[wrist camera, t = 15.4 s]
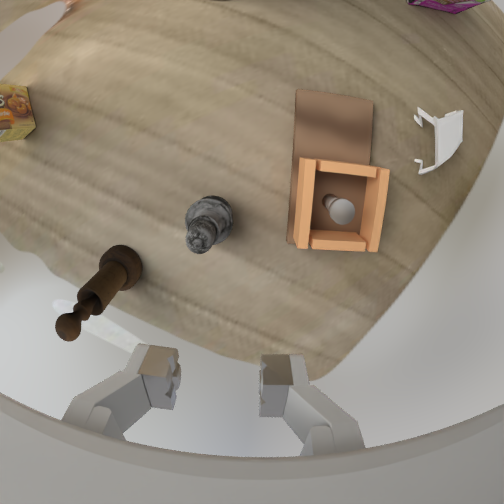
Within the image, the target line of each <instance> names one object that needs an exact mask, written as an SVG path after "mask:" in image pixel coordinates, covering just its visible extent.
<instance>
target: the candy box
mask: <svg viewBox="0 0 504 504" xmlns="http://www.w3.org/2000/svg"><path fill="white" fill-rule="evenodd" d="M34 128H36V125H35V121H34V117H33V114H32V110H31V105H30V101H29V96H28V92H27V87H25V86H16V85H7V84H0V142H5V141H13V140H22V139H24V138H25V137H26V136H27V135H28V134H29V133H30V132H31V131H32V130H33V129H34Z"/></svg>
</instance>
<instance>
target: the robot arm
mask: <svg viewBox="0 0 504 504" xmlns="http://www.w3.org/2000/svg"><path fill="white" fill-rule="evenodd" d="M178 358H179V355H178V350H177V349H176V348H169V347H161V346H155V345H146V344H140V343H139V344H138V345H137V346H136V347H135V349H134V351H133V353H132V355H131V357H130V359H129V362H128V363H127V365H126V368H125V370H124V371H119V372H117V373H116V374H114V375H112V376H110V377H109V378H107V379H105V380H104V381H102V382H100V383H98V384H97V385H95V386H93V387H91V388H90V389H88V390H86V391H85V392H83V393H81V394H79V395H77V396H75V397H74V398H73V400H72V402H71V403H70V405H69V407H68V409H67V411H66V413H65V414H64V416H63V418H62V420H58V419H56V418H53V417H51V416H48V415H46V414H44V413H41V412H39V411H37V410H34V409H32V408H30V407H28V406H26V405H24V404H22V403H20V402H18V401H15V400H14V399H12V398H10V397H8V396H6V395H4V394H2V393H0V504H504V404H503V405H500V406H498V407H496V408H493V409H491V410H489V411H487V412H485V413H483V414H480V415H478V416H475V417H473V418H471V419H468V420H466V421H463V422H460V423H458V424H455V425H452V426H449V427H447V428H444V429H441V430H438V431H435V432H431V433H428V434H425V435H421V436H418V437H414V438H411V439H407V440H403V441H399V442H395V443H390V444H386V445H381V446H376V447H371V448H365V445H364V442H363V438H362V435H361V432H360V429H359V425H358V422H357V421H356V420H355V419H354V418H353V417H351V416H350V415H349V414H348V413H347V412H345V411H344V410H343V409H342V408H340V407H339V406H338V405H337V404H336V403H334V402H333V401H332V400H331V399H330V398H328V397H327V396H326V395H325V394H324V393H322V392H321V391H320V390H319V389H318V388H317V387H316V386H314V385H310V384H309V379H308V374H307V369H306V364H305V360H304V355H303V354H289V355H288V354H261V361H260V366H261V370H260V373H259V395H260V398H259V416H260V417H283V419H284V420H285V422H286V423H287V424H288V425H289V427H290V428H291V429H292V430H293V431H294V433H295V434H296V435H297V436H298V438H299V439H300V440H301V441H302V442H303V443H304V447H303V449H302V451H301V454H300V456H296V457H232V456H217V455H206V454H196V453H189V452H181V451H175V450H168V449H162V448H157V447H152V446H147V445H142V444H137V443H133V442H129V441H126V440H125V438H124V436H123V433H124V432H125V431H126V430H127V429H128V428H129V427H131V426H132V425H133V424H134V423H135V422H136V421H138V420H139V419H140V418H141V417H142V416H143V415H144V414H146V412H148V411H149V410H150V409H151V407H154V408H161V409H169V410H173V408H174V405H175V401H176V392H175V391H176V390H177V389H178V388H179V385H180V380H181V368H180V365H179V364H178V362H177V361H178Z"/></svg>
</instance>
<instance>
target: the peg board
mask: <svg viewBox="0 0 504 504" xmlns="http://www.w3.org/2000/svg"><path fill="white" fill-rule="evenodd" d="M372 121H373V101H371V100H366V99H361V98H356V97H351V96H345V95H339V94H333V93H326V92H319V91H312V90H303V89H297V90H296V98H295V119H294V138H293V155H292V171H291V185H290V199H289V212H288V224H287V236H286V241H287V243H288V244H296V243H295V241H294V238H293V234H294V223H295V212H296V200H297V187H298V174H299V159H300V157H302V158H311V159H323V160H332V161H341V162H349V163H356V164H363V165H369V163H370V151H371V138H372ZM366 185H367V176H359V175H351V174H343V173H334V172H324V171H319V170H317V169H315V180H314V192H313V203H312V213H311V222H310V230H326V231H342V232H356V233H357V234H358V235H360V229H361V222H362V216H363V208H364V201H365V193H366ZM308 244H309V242H308ZM309 245H310V244H309Z"/></svg>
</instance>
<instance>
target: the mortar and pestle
mask: <svg viewBox="0 0 504 504" xmlns="http://www.w3.org/2000/svg"><path fill="white" fill-rule="evenodd" d="M141 272H142V264H141V261H140V258H139V256H138V255H137V254H136V252H135V251H134V250H132V249H131V248H129V247H127V246H124V245H116V246H113V247H111V248H110V249H109V250H108V251H107V252H105V253H104V254H103V256H102V257H101V259H100V262H99V271H98V272H97V273H96V274H95V275H94V276H93V277H92V278H91V279H90V280H89V281H88V282H87V283H86V284H85V285H84V286H83V287H82V288H81V289H80V290H79V292H78V294H77V299H78V303H77V304H75V305H74V307H73V311H74V312H73V313H65V314H62V315H61V316H59V317H58V319H57V321H56V325H55V328H56V332H57V334H58V335H59V337H60V338H61V339H63V340H65V341H73V340H75V339H76V338H77V337H78V336H79V335H80V332H81V321H82V320H83V321H86V320H88V319H89V317H90V315H95V316H97V315H100V314H101V313H102V312H103V311H104V310H105V308H106V306H107V305H108V304H109V303H110V301H111V300H112V299H113V297H114V296H115V295H116V293H117V292H118V291H124V290H128V289H130V288H131V287H133V286H134V284H135V283H136V281H137V280H138V279H139V277H140V275H141Z"/></svg>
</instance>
